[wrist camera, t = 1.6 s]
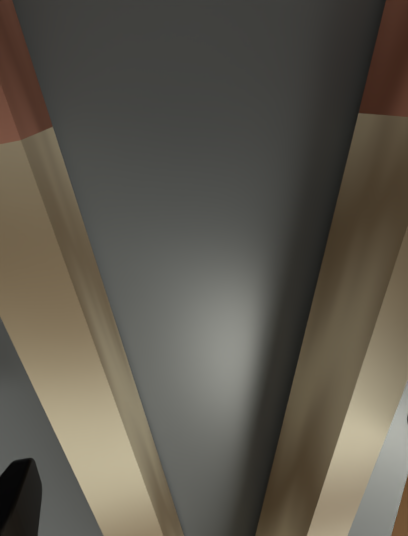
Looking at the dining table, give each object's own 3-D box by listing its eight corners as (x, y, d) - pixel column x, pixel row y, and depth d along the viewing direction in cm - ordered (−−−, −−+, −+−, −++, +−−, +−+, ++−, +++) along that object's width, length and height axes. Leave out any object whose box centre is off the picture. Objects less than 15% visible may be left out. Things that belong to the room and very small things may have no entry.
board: (515, -110, 8) (573, -140, 7) (351, 606, 20) (363, 635, 19) (-236, -149, 6) (-313, -200, 5) (68, 676, 18) (65, 714, 17)
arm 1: (262, 616, 16) (284, 698, 14) (234, 621, 15) (251, 706, 13) (458, -53, 7) (600, -116, 5) (402, -65, 7) (524, -138, 5)
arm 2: (213, 626, 15) (227, 712, 13) (183, 635, 15) (193, 724, 13) (-13, -78, 6) (-94, -177, 4) (-95, -67, 6) (-226, -163, 4)
